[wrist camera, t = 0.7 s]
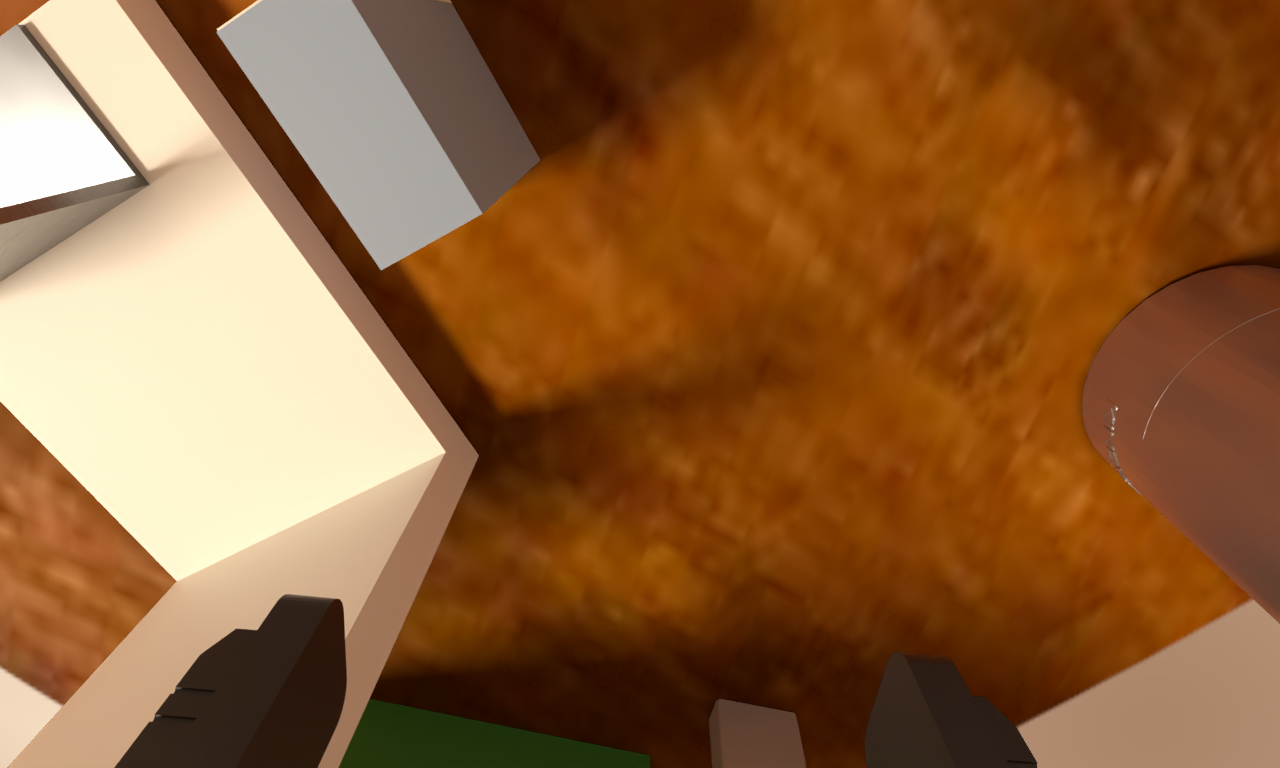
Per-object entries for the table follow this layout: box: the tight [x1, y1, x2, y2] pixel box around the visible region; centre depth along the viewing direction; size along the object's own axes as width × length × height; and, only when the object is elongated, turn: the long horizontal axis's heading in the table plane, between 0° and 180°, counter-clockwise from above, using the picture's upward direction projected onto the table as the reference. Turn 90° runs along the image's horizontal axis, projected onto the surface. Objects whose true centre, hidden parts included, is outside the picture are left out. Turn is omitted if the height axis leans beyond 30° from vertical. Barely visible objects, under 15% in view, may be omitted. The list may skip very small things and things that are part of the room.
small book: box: [216, 0, 540, 270], centre depth 21 cm, size 3×6×9 cm, turn 28°
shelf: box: [0, 0, 479, 768], centre depth 21 cm, size 14×20×16 cm
